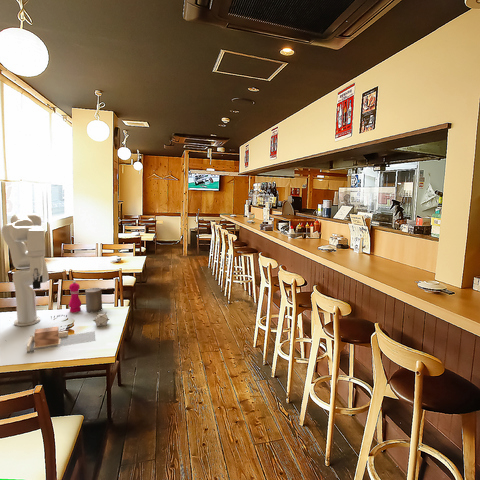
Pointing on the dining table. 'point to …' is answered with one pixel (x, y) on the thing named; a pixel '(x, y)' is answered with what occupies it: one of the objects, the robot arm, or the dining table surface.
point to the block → (46, 336)
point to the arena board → (63, 340)
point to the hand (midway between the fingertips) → (37, 285)
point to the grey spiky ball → (101, 319)
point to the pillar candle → (93, 299)
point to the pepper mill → (74, 298)
